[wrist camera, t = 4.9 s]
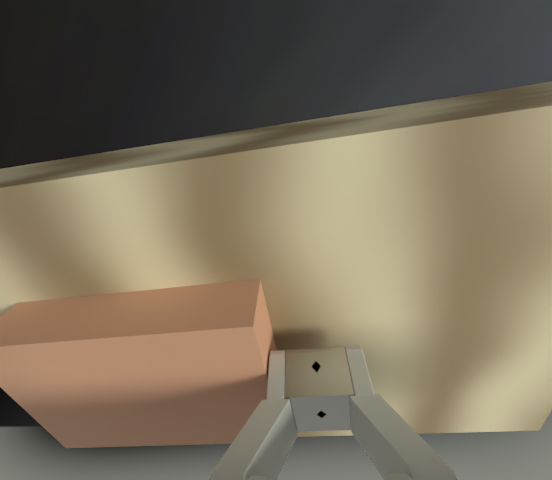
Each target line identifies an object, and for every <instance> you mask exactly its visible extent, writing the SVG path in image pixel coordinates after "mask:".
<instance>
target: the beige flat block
mask: <svg viewBox="0 0 552 480" xmlns="http://www.w3.org/2000/svg"><path fill="white" fill-rule="evenodd" d="M254 279H261V284H262V288H263V292H264V297H265V301H266V305H267V309H268V314H269V318H270V322H271V326H272V331H273V335H274V339H275V343H276V348H277V350H298V349H314V348H322V347H334V346H351V345H360V346H361V347H362V350H363V354H364V357H365V361H366V365H367V369H368V372H369V376H370V380H371V383H372V387H373V391H374V394H380V395H381V396H382V397H383V398H384V400H385V401H386V402H387V403H388V404H389V405H390V406H391V407H392V408H393V409H394V410H395V411H396V412H397V413H398V414H399V415H400V416H401V417H402V418H403V419H404V420H405V421H406V422H407V423H408V424H409V426H410V427H411V428H412V429H413V430H414V431H415V432H416V433H417V434H418V433H456V432H457V433H458V432H493V431H494V432H496V431H536V430H540V428H541V427H542V425H543V424H544V422H545V420H546V419H547V417H548V415H549V414H550V412H551V410H552V82H546V83H540V84H533V85H527V86H521V87H514V88H508V89H502V90H496V91H489V92H483V93H477V94H470V95H464V96H458V97H451V98H445V99H439V100H432V101H426V102H420V103H413V104H407V105H401V106H395V107H388V108H382V109H376V110H369V111H363V112H357V113H350V114H344V115H338V116H331V117H325V118H319V119H312V120H306V121H300V122H294V123H287V124H281V125H275V126H268V127H262V128H256V129H249V130H243V131H237V132H230V133H224V134H218V135H211V136H205V137H199V138H193V139H186V140H180V141H174V142H167V143H161V144H155V145H148V146H142V147H136V148H129V149H123V150H117V151H110V152H104V153H98V154H92V155H85V156H79V157H73V158H66V159H60V160H54V161H47V162H41V163H35V164H28V165H22V166H16V167H9V168H3V169H0V317H1V316H2V315H3V314H4V313H6V312H7V311H8V310H9V309H10V308H12V307H13V306H14V305H15V304H17V303H23V302H33V301H43V300H53V299H63V298H73V297H83V296H93V295H104V294H114V293H124V292H134V291H144V290H154V289H164V288H174V287H184V286H194V285H204V284H214V283H224V282H234V281H244V280H254ZM297 434H298V435H297V437H300V436H301V437H302V436H340V435H353V434H352V432H351V430H334V431H309V432H297Z"/></svg>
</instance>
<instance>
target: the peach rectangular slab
mask: <svg viewBox="0 0 552 480" xmlns="http://www.w3.org/2000/svg"><path fill="white" fill-rule="evenodd" d="M271 351H277V348H276V343H275V339H274V335H273V331H272V326H271V322H270V318H269V314H268V309H267V305H266V301H265V297H264V292H263V288H262V284H261V279H254V280H244V281H234V282H224V283H214V284H204V285H194V286H184V287H174V288H164V289H154V290H144V291H134V292H124V293H114V294H104V295H93V296H83V297H73V298H63V299H53V300H43V301H33V302H23V303H17V304H15V305H14V306H13V307H12V308H10V309H9V310H8V311H7V312H6V313H4V314H3V315H2V316H1V317H0V387H1V388H2V389H3V390H4V391H5V392H6V393H7V394H8V395H9V396H10V397H11V398H13V399H14V400H15V401H16V402H17V403H18V404H19V405H20V406H21V407H22V408H23V409H24V410H25V411H27V412H28V413H29V414H30V415H31V416H32V417H33V418H34V419H35V420H36V421H37V422H38V423H39V424H40V425H42V426H43V427H44V428H45V429H46V430H47V431H48V432H49V433H50V434H51V435H52V436H53V437H54V438H56V439H57V440H58V441H59V442H60V443H61V444H62V445H63V446H64V447H65V448H85V447H120V446H157V445H158V446H159V445H190V444H191V445H194V444H227V443H228V444H232V443H233V441H234V440H235V438H236V437H237V435H238V434H239V432H240V431H241V429H242V428H243V426H244V425H245V424H246V422H247V421H248V419H249V418H250V416H251V415H252V413H253V412H254V410H255V409H256V408H257V406H258V405H259V403H260V402H261V400H266V395H267V382H268V369H269V356H270V353H271Z"/></svg>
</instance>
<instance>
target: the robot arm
mask: <svg viewBox="0 0 552 480" xmlns="http://www.w3.org/2000/svg"><path fill="white" fill-rule="evenodd" d="M334 430H351V432H352V434H353V435H354V436H355V438H356V439H357V441H358V442H359V444H360V445H361V447H362V448H363V450H364V451H365V452H366V454H367V455H368V457H369V458H370V460H371V461H372V463H373V464H374V466H375V467H376V469H377V470H378V471H379V473H380V474H381V476H382V477H383V479H384V480H457V478H456V476H455V474H454V471H453V470H452V469H451V468H450V467H449V466H448V465H447V464H446V463H445V462H444V461H443V460H442V459H441V458H440V457H439V456H438V455H437V454H436V453H435V451H434V450H433V449H432V448H431V447H430V446H429V445H428V444H427V443H426V442H425V441H424V440H423V439H422V438H421V437H420V436H419V435H418V434H417V433H416V432H415V431H414V430H413V429H412V428H411V427H410V426H409V424H408V423H407V422H406V421H405V420H404V419H403V418H402V417H401V416H400V415H399V414H398V413H397V412H396V411H395V410H394V409H393V408H392V407H391V406H390V405H389V404H388V403H387V402H386V401H385V400H384V398H383V397H382V396H381V395H380V394H374V391H373V387H372V383H371V380H370V376H369V372H368V369H367V365H366V361H365V357H364V354H363V350H362V347H361V346H360V345H351V346H334V347H322V348H314V349H298V350H277V351H271V353H270V356H269V369H268V382H267V395H266V400H261V402H260V403H259V405H258V406H257V408H256V409H255V410H254V412H253V413H252V415H251V416H250V418H249V419H248V421H247V422H246V424H245V425H244V426H243V428H242V429H241V431H240V432H239V434H238V435H237V437H236V438H235V440H234V441H233V443H232V444H231V445H230V447H229V448H228V450H227V451H226V453H225V454H224V456H223V457H222V459H221V460H220V462H219V463H218V465H217V466H216V467H215V469H214V470H213V472H212V473H211V475H210V480H277V478H278V476H279V473H280V471H281V469H282V467H283V465H284V463H285V461H286V458H287V456H288V454H289V452H290V450H291V448H292V445H293V443H294V441H295V439H296V437H297V435H298V434H297V432H309V431H334Z"/></svg>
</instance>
